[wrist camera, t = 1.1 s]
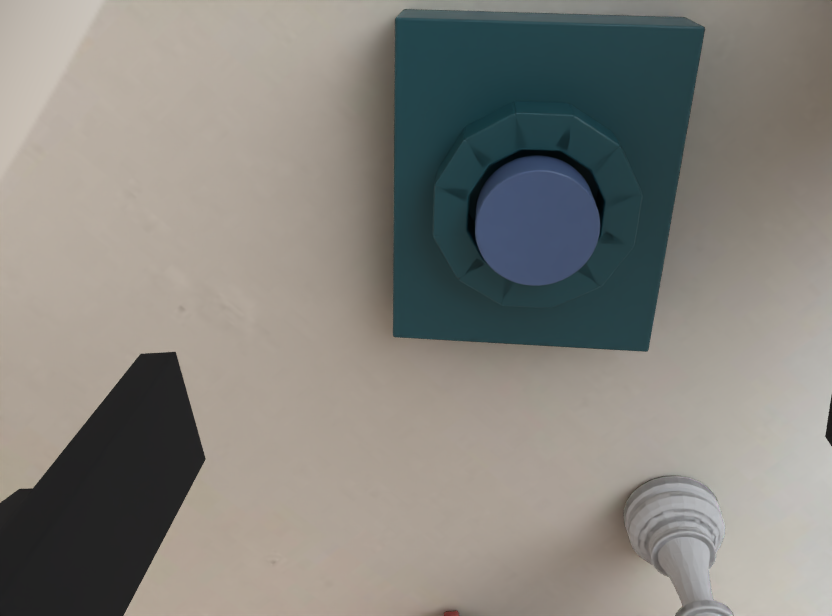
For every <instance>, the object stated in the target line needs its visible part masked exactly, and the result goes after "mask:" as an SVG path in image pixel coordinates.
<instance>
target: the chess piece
mask: <svg viewBox="0 0 832 616" xmlns="http://www.w3.org/2000/svg"><path fill="white" fill-rule="evenodd" d="M624 524H625V528H626V530H627V533H628V535H629V540H630V543H631V545H632V548H633V549H634V550H635V552H636V553H637V554H638V555H639V556H640V557H641V558H643V559H644V560H646V561H647V562H649V563H650V564H652V565H654V567H655V568H656V569H657V570H658V572H660V573H661V574H663V575H665V576H667V577H669V578H670V579H671V581H672V583H673V585H674V587H675V589H676V591H677V593H678V595H679V598H680V600H681V603H682V606H683V607H681V608H680V609H679V610H678V612H677V613H676V615H675V616H734V615H733V612H732V611H731V610H730V609H729V608H728V607H727V606H726V605H724V604H723V603H721V602H718V601H715V600H714V599H713V595H712V590H711V583H710V576H709V569H710V568H711V566H712V565H713V564H714V562H715V559H716V552H717V550H718V549H719V548H720V546H721V544H722V541H723V538H724V536H725V523H724V520H723V518H722V513H721V510H720V507H719V504H718V501H717V499H716V497H715V495H714V494H713V493H712V491H711V490H710V489H709V488H708V487H707V486H705V485H704V484H702V483H701V482H699V481H696V480H694V479H691V478H688V477H681V476H668V477H661V478H657V479H654V480H651V481H649V482H647V483H645V484H643V485H641V486H640V487H639V488H637V489H636V490H635V491H634V492H633V493H632V494H631V496H630V497H629V499H628V500H627V501H626V505H625V508H624Z"/></svg>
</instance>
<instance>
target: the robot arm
mask: <svg viewBox="0 0 832 616" xmlns="http://www.w3.org/2000/svg"><path fill="white" fill-rule="evenodd" d="M825 437H826V438H827V440H828V441H829V443H830V444H831V446H832V396H831V403H830V409H829V416H828V423H827V429H826V436H825ZM204 461H205V455H204V452H203V448H202V445H201V441H200V437H199V434H198V430H197V427H196V423H195V420H194V416H193V412H192V409H191V405H190V402H189V398H188V395H187V391H186V387H185V384H184V380H183V377H182V373H181V370H180V366H179V362H178V359H177V355H176V352H166V353H147V354H140V355H139V357H138V358H137V359H136V360H135V362H134V363H133V364H132V365H131V367H130V368H129V369H128V370H127V372H126V373H125V374H124V375H123V377H122V378H121V379H120V380H119V382H118V383H117V384H116V385H115V387H114V388H113V389H112V390H111V392H110V393H109V394H108V395H107V397H106V398H105V399H104V400H103V402H102V403H101V404H100V405H99V407H98V408H97V409H96V410H95V412H94V413H93V414H92V415H91V417H90V418H89V419H88V420H87V422H86V423H85V424H84V425H83V427H82V428H81V429H80V430H79V432H78V433H77V434H76V435H75V437H74V438H73V439H72V440H71V442H70V443H69V444H68V445H67V447H66V448H65V449H64V450H63V452H62V453H61V454H60V455H59V457H58V458H57V459H56V460H55V462H54V463H53V464H52V465H51V467H50V468H49V469H48V470H47V472H46V473H45V474H44V475H43V477H42V478H41V479H40V480H39V482H38V483H37V484H36V485H35V487H34V488H33V489H19V490H17V491H16V492H15V493H13V494H12V495H10V496H9V497H8V498H6V499H5V500H4V501H2V502H1V503H0V616H123V615H124V614H125V612H126V610H127V608H128V606H129V604H130V602H131V600H132V598H133V596H134V594H135V593H136V591H137V589H138V587H139V585H140V583H141V581H142V579H143V577H144V575H145V573H146V572H147V570H148V568H149V566H150V564H151V562H152V560H153V558H154V556H155V554H156V553H157V551H158V549H159V547H160V545H161V543H162V541H163V539H164V537H165V535H166V533H167V532H168V530H169V528H170V526H171V524H172V522H173V520H174V518H175V516H176V514H177V512H178V511H179V509H180V507H181V505H182V503H183V501H184V499H185V497H186V495H187V493H188V492H189V490H190V488H191V486H192V484H193V482H194V480H195V478H196V476H197V474H198V472H199V471H200V469H201V467H202V465H203V463H204Z"/></svg>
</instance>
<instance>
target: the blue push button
mask: <svg viewBox="0 0 832 616" xmlns="http://www.w3.org/2000/svg"><path fill="white" fill-rule="evenodd" d="M599 233H600V217H599V212H598V209H597V206H596V203H595V201H594V198H593V195H592V193H591V190H590V188H589V185H588V184H587V182H586V180H585V179H584V178H583V176H582V175H581V174H580V173H579V172H578V171H577V170H576V169H575V168H574V167H572V166H571V165H569V164H568V163H566V162H564V161H562V160H559V159H557V158H553V157H549V156H542V155H532V156H525V157H521V158H517V159H515V160H512V161H510V162H508V163H506V164H504V165H503V166H501V167H500V168H499V169H497V170H496V171H495V172H494V173H493V174H492V175H491V176H490V177H489V178H488V180H487V181H486V182H485V184H484V186H483V187H482V189H481V191H480V194H479V196H478V200H477V205H476V219H475V236H476V242H477V245H478V248H479V251H480V253H481V255H482V257H483V258H484V260H485V261H486V263H487V264H488V265H489V266H490V267H491V268H492V269H493V270H494V271H495V272H496V273H498V274H499V275H501V276H502V277H504V278H506V279H508V280H510V281H513V282H515V283H519V284H523V285H531V286H540V285H548V284H552V283H556V282H558V281H561V280H563V279H565V278H567V277H569V276H571V275H572V274H574V273H575V272H577V271H578V270H579V269H580V268H581V267H582V266H583V265H584V264H585V263H586V262H587V261H588V259H589V258H590V256H591V255H592V253H593V251H594V249H595V247H596V245H597V242H598V238H599Z"/></svg>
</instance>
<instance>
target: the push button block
mask: <svg viewBox="0 0 832 616" xmlns="http://www.w3.org/2000/svg"><path fill="white" fill-rule="evenodd" d="M704 32H705V27H703V26H701V25H699V24H697V23H695V22H693V21H691V20H689V19H687V18H685V17H656V16H622V15H587V14H553V13H519V12H484V11H450V10H415V9H404V10H403V11H402V12H401V13H400V14H399V15H398V16H397V17H396V19H395V98H394V254H393V336H394V337H400V338H418V339H435V340H453V341H470V342H488V343H505V344H523V345H540V346H558V347H575V348H593V349H610V350H628V351H645V352H646V351H648V349H649V343H650V338H651V332H652V326H653V321H654V315H655V309H656V304H657V298H658V292H659V287H660V281H661V275H662V270H663V264H664V258H665V253H666V247H667V241H668V236H669V230H670V224H671V219H672V213H673V207H674V202H675V196H676V190H677V185H678V179H679V173H680V168H681V162H682V156H683V151H684V145H685V139H686V134H687V128H688V122H689V117H690V111H691V105H692V100H693V94H694V88H695V83H696V77H697V71H698V66H699V60H700V54H701V49H702V43H703V37H704ZM532 155H542V156H549V157H553V158H557V159H559V160H562V161H564V162H566V163H568V164H569V165H571V166H572V167H574V168H575V169H576V170H577V171H578V172H579V173H580V174H581V175H582V176H583V178H584V179H585V180H586V182H587V184H588V185H589V188H590V190H591V193H592V195H593V198H594V201H595V203H596V206H597V209H598V212H599V217H600V233H599V238H598V242H597V245H596V247H595V249H594V251H593V253H592V255H591V256H590V258H589V259H588V261H587V262H586V263H585V264H584V265H583V266H582V267H581V268H580V269H579V270H578V271H577V272H575V273H574V274H572V275H571V276H569V277H567V278H565V279H563V280H561V281H558V282H556V283H552V284H548V285H540V286H531V285H523V284H519V283H515V282H513V281H510V280H508V279H506V278H504V277H502V276H501V275H499V274H498V273H496V272H495V271H494V270H493V269H492V268H491V267H490V266H489V265H488V264H487V263H486V261H485V260H484V258H483V257H482V255H481V253H480V251H479V248H478V245H477V242H476V236H475V219H476V205H477V200H478V196H479V194H480V191H481V189H482V187H483V186H484V184H485V182H486V181H487V180H488V178H489V177H490V176H491V175H492V174H493V173H494V172H495V171H496V170H497V169H499V168H500V167H501V166H503V165H504V164H506V163H508V162H510V161H512V160H515V159H517V158H521V157H525V156H532Z"/></svg>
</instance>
